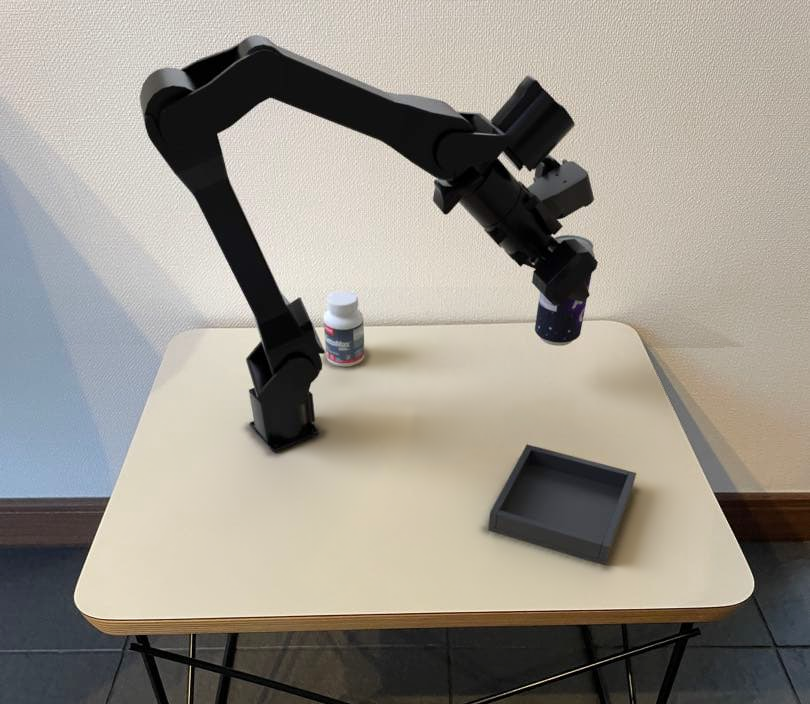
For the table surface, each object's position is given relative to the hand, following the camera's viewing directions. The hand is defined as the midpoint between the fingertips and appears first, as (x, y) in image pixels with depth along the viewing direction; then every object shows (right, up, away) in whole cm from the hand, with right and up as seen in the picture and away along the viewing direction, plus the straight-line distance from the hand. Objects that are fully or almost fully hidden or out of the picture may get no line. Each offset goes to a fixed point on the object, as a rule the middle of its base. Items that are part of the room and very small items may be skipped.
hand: (575, 286), depth 92 cm
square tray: (-3, -27, -9) cm, 29 cm away
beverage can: (-1, -5, +4) cm, 7 cm away
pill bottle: (-29, -5, +14) cm, 32 cm away
